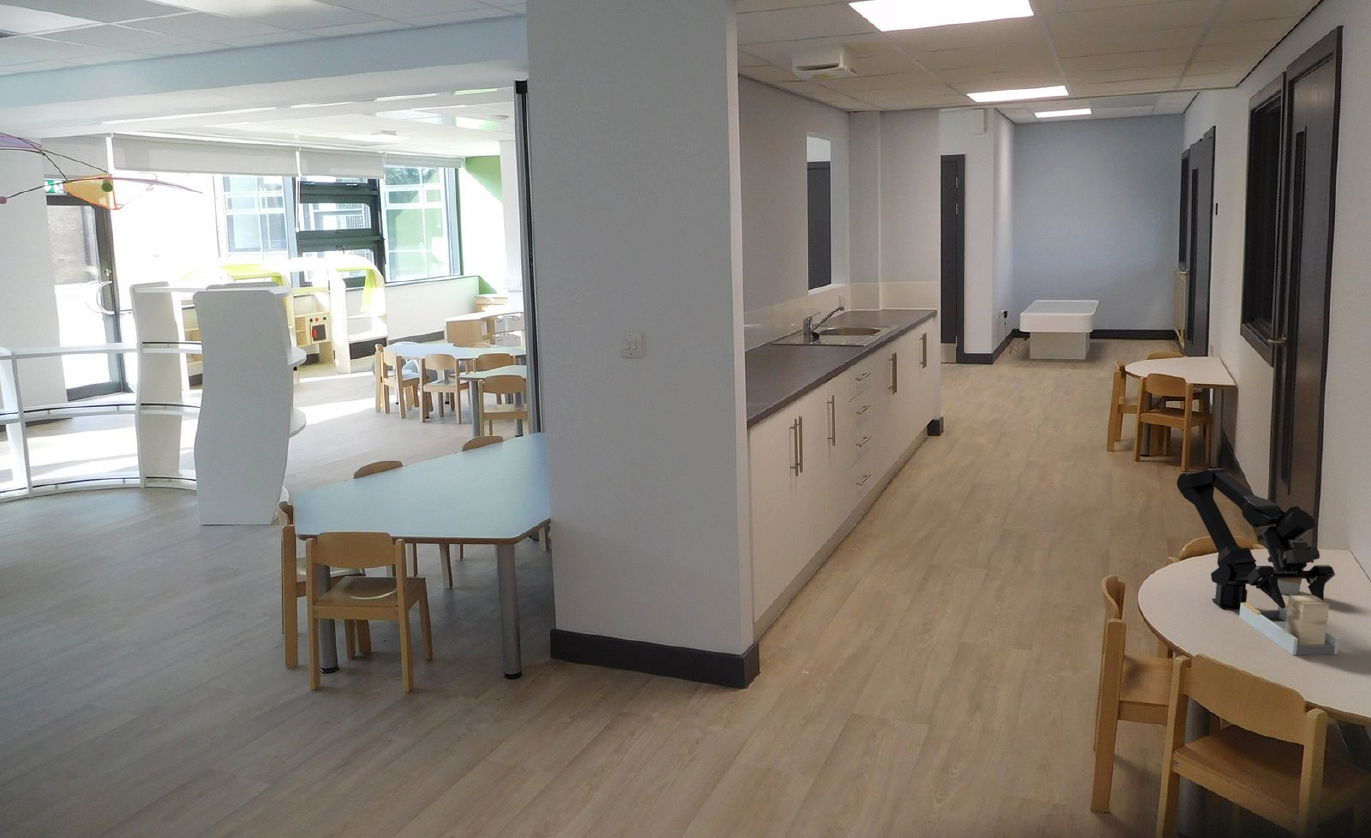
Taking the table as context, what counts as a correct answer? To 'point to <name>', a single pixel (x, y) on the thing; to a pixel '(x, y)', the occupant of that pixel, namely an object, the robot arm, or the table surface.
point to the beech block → (1307, 619)
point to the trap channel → (1274, 629)
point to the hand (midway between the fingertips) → (1302, 607)
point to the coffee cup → (1292, 584)
